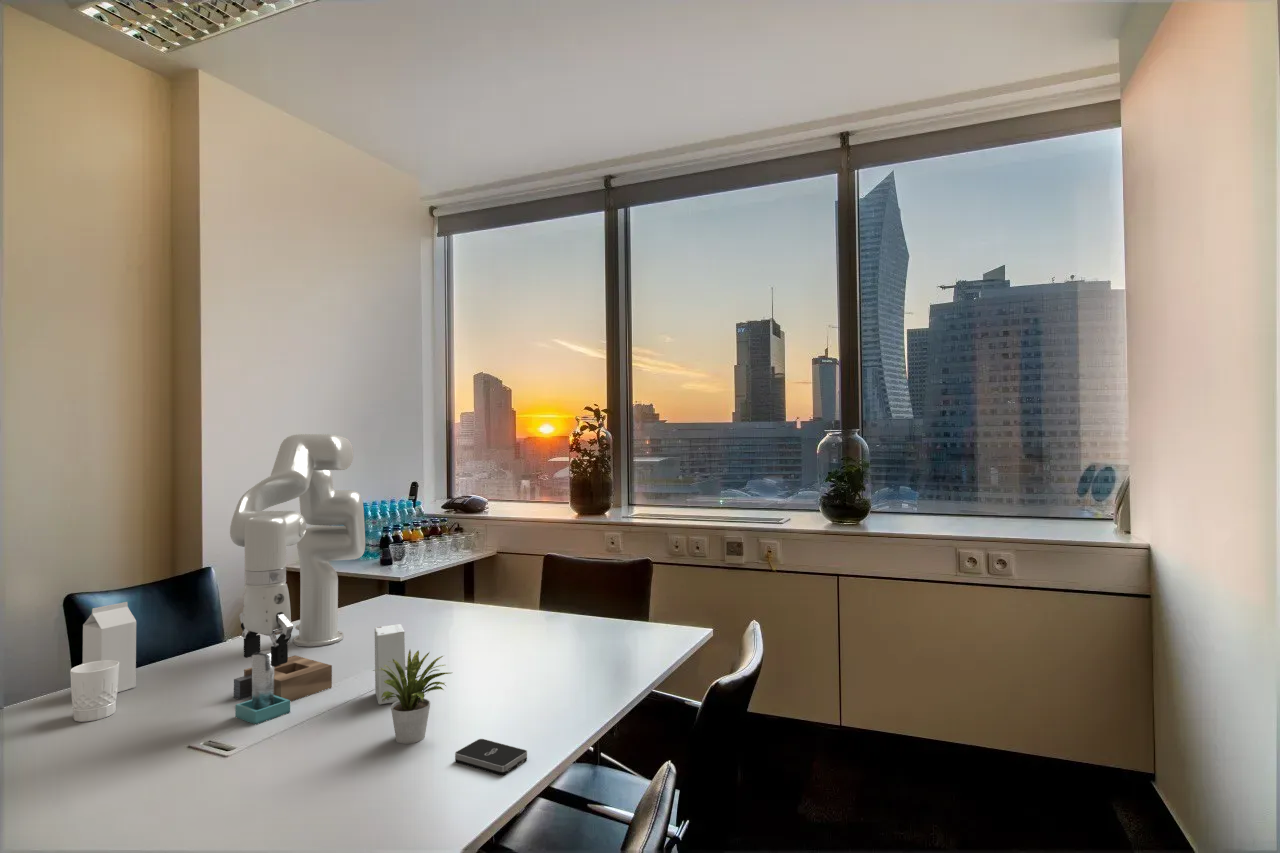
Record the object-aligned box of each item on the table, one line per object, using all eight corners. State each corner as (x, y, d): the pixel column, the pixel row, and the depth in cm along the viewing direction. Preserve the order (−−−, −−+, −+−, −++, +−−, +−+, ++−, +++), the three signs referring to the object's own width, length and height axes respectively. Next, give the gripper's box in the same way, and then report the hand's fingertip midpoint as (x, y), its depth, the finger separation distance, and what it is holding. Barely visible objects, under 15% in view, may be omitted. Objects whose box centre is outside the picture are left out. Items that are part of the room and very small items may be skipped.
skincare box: (406, 701, 150) (406, 631, 150) (376, 706, 147) (376, 635, 148) (402, 688, 158) (402, 622, 158) (373, 692, 155) (374, 625, 155)
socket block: (243, 692, 155) (244, 669, 155) (294, 676, 166) (295, 655, 166) (280, 704, 148) (280, 681, 148) (331, 687, 158) (331, 665, 158)
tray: (235, 717, 142) (235, 704, 142) (269, 705, 148) (270, 693, 148) (255, 724, 138) (255, 711, 138) (290, 712, 144) (290, 700, 144)
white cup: (128, 710, 145) (128, 662, 145) (87, 725, 138) (87, 674, 138) (101, 706, 148) (102, 658, 148) (60, 720, 140) (60, 670, 140)
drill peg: (247, 713, 142) (248, 654, 142) (267, 707, 146) (267, 649, 146) (258, 718, 140) (259, 658, 140) (278, 711, 144) (278, 652, 144)
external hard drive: (503, 779, 117) (503, 767, 117) (452, 764, 122) (452, 752, 122) (528, 762, 123) (528, 750, 123) (479, 749, 128) (479, 738, 128)
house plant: (400, 765, 121) (401, 669, 121) (350, 746, 128) (350, 656, 128) (462, 735, 133) (462, 648, 133) (413, 719, 140) (413, 637, 140)
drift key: (233, 697, 152) (233, 679, 152) (269, 686, 159) (269, 668, 159) (239, 699, 151) (239, 681, 151) (275, 688, 158) (275, 670, 158)
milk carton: (135, 687, 158) (136, 603, 159) (100, 698, 152) (101, 610, 152) (117, 683, 161) (118, 600, 162) (81, 693, 155) (82, 607, 155)
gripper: (307, 578, 142) (307, 662, 143) (259, 568, 152) (259, 647, 152) (272, 585, 136) (271, 673, 136) (223, 575, 145) (223, 657, 145)
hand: (265, 660), depth 144 cm, fingers open, 9 cm apart
